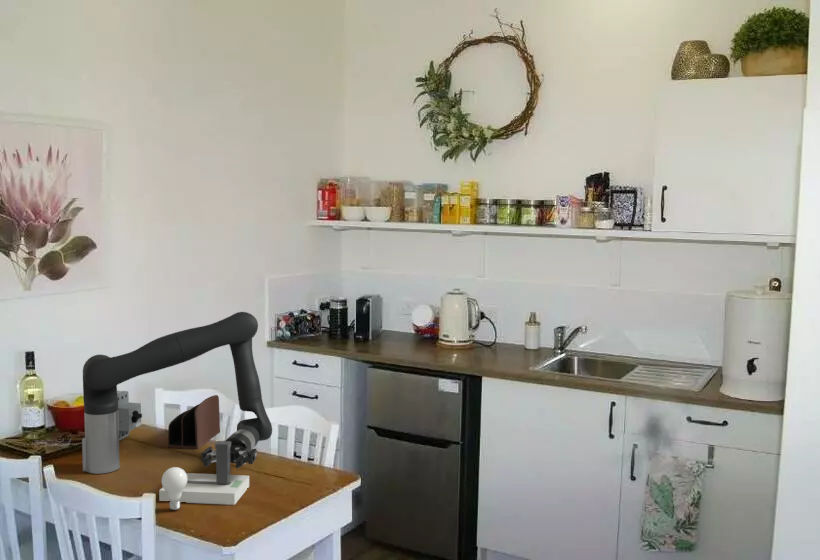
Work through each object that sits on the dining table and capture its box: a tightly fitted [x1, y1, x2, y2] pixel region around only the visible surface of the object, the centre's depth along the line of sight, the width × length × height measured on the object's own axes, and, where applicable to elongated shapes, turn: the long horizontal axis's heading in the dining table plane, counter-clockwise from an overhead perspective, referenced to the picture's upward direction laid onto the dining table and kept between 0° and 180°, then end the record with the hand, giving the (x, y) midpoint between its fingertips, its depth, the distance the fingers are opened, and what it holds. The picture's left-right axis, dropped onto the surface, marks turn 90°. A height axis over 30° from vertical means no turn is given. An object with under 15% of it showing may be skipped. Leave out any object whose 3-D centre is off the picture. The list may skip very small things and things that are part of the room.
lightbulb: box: [161, 466, 188, 511], centre depth 208 cm, size 6×6×11 cm
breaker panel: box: [158, 472, 250, 506], centre depth 220 cm, size 20×14×3 cm
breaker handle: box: [214, 440, 231, 484], centre depth 219 cm, size 3×3×11 cm
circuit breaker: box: [117, 390, 143, 441], centre depth 269 cm, size 8×14×15 cm, turn 78°
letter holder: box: [167, 394, 221, 450], centre depth 268 cm, size 10×20×14 cm, turn 172°
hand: (221, 464), depth 217 cm, fingers open, 8 cm apart
